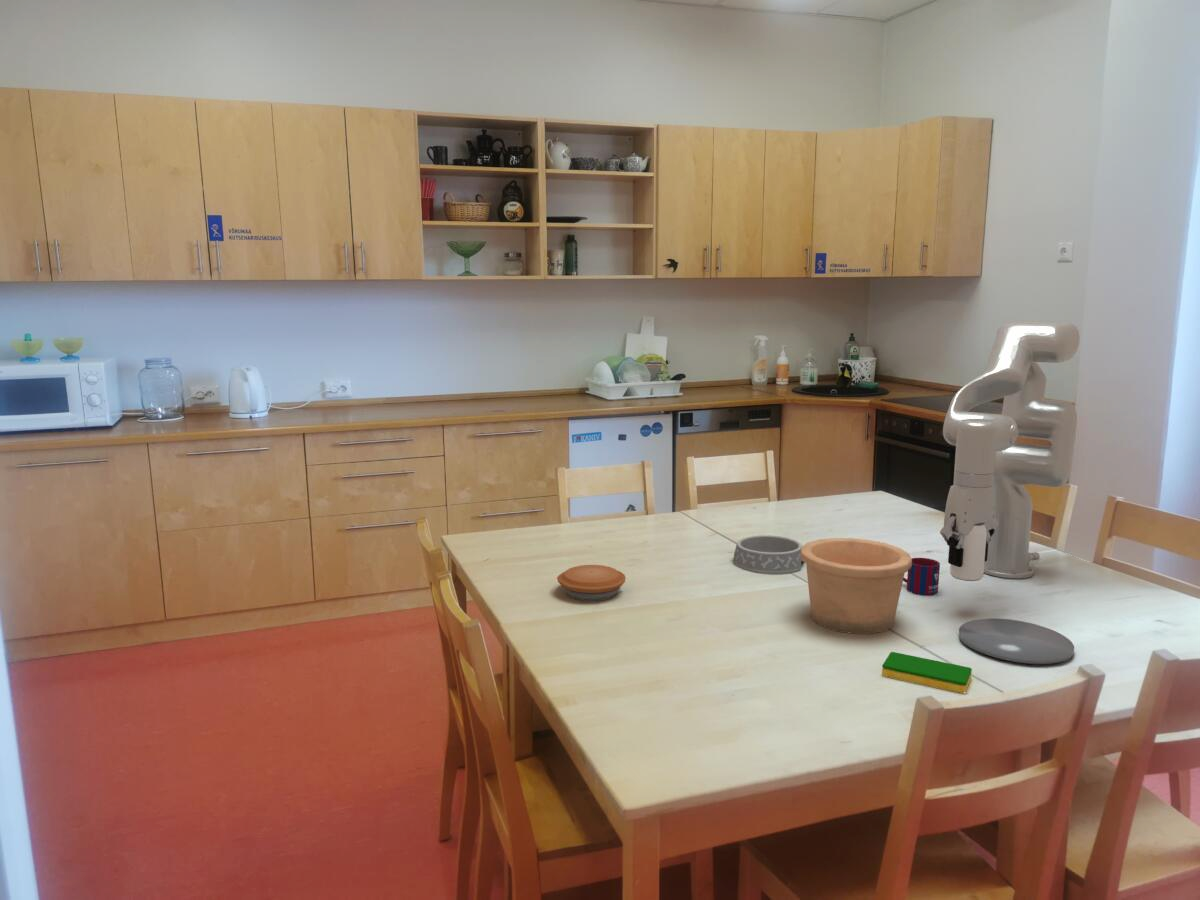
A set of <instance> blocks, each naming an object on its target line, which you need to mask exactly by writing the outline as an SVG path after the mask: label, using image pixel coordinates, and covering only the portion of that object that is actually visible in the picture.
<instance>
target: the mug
mask: <svg viewBox="0 0 1200 900" xmlns="http://www.w3.org/2000/svg"><path fill="white" fill-rule="evenodd" d="M911 559H912V566H911V568H910V569H909V570H908V571H907V575H906V576H907V578H905V577H904V578H903V582H904V583H906V590H907V592H910V593H911V592H912V593H911V594H914V595H918V594H919V596H935V595H937V594H938V592H939V582H940V581H939V580H940V568H941V563H940V562H939V561H938V560H936V559H933V558H928V557H911ZM934 594H935V595H934Z"/></svg>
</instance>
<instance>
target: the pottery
mask: <svg viewBox="0 0 1200 900" xmlns="http://www.w3.org/2000/svg"><path fill="white" fill-rule="evenodd" d="M911 558H912V557H911V555H910V553H909V552H907V551H905V550H904V549H902V548H901V547H898V546H895V545H892V544H890V543H889V544H888V543H887V542H886V543H885V542H880V541H876V540H871V539H863V538H862V539H861V538H853V537H852V538H851V537H833V538H831V537H830V538H822V539H816V540H813V541H808V542H806V543H805V544H804V545H802V547H801V560H802V562H803V563H805V565H806V566H805V567H806V575H807V585H808V595H809V597H808V598H809V605H810V618H812V619H813V621H815V622H816V623H817V624H818V625H821V626H822V627H825V628H826V629H829V628H830V629H829V630H832V629H834V630H833V631H836V630H837V632H839V631H842V632H841V633H846V632H850V633H849V634H853V633H872V634H877V633H876V632H879V633H882V631H883V632H885V631H887V629H888V630H889V629H892V627H893V625H894V624H895V618H896V614H897V610H898V605H899V599H900V596H901V591H902V586H903V582H904V581H903V578H905V573H908V570H909V569H910V568H911V566H912V559H911Z"/></svg>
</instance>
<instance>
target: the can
mask: <svg viewBox="0 0 1200 900" xmlns="http://www.w3.org/2000/svg"><path fill="white" fill-rule="evenodd" d="M955 532H958V529H957V528H956V529H955ZM986 535H987V529H986V527H985V523H984V524H981V525H974V527H973V529H972V530H971V531H970V533H969V534H968V535H966V536H965V538H964V541H963V544H962V546H961V548H963V564H962V567H957V566H954V565H952V564H949V565H950V567H949V574H950V575H951V576H952V577H953V578H955V579H957V580H961V581H966V582H976V581H977V582H978V581H980V580H982V579H983V578H984V574H985V573H984V561H985V548H986ZM958 537H959V536H958V535H955V539H956V540H958Z"/></svg>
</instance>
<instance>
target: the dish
mask: <svg viewBox="0 0 1200 900" xmlns="http://www.w3.org/2000/svg"><path fill="white" fill-rule="evenodd" d="M958 637H959V639H960V641H962V643H963V644H965V645H966V646H967V647H969V648H971V649H973V650H975V651H977V652H979V653H982V654H984V655H987V656H989V657H993V658H996V659H1001V660H1005V661H1009V662H1015V663H1020V664H1021V663H1023V664H1033V665H1046V664H1047V665H1050V664H1057V663H1062V662H1065V661H1067V660H1069V659H1071V658H1072V657H1073V656H1074V653H1075V646H1074V644H1073V642H1072V641H1071V640H1070V638H1068V637H1067V636H1065V635H1064V634H1061V633H1059V632H1057V631H1055V630H1053V629H1050V628H1049V627H1046V626H1042V625H1039V624H1035V623H1032V622H1026V621H1023V620H1022V621H1021V620H1015V619H1010V618H1009V619H1008V618H1007V619H1006V618H992V617H991V618H979V619H978V618H976V619H972V620H969V621H966V622H963V623H962V624H961V625H959V628H958Z"/></svg>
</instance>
